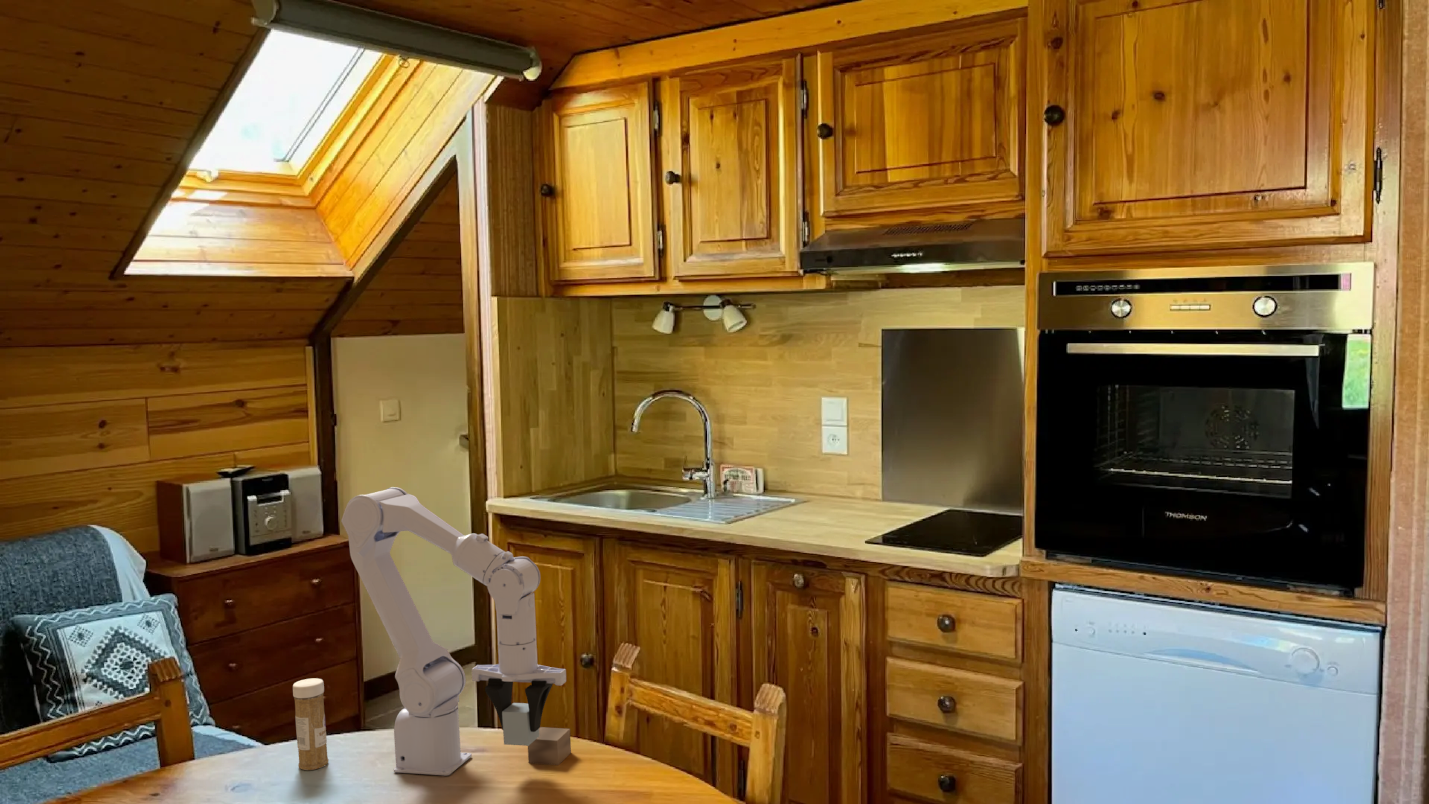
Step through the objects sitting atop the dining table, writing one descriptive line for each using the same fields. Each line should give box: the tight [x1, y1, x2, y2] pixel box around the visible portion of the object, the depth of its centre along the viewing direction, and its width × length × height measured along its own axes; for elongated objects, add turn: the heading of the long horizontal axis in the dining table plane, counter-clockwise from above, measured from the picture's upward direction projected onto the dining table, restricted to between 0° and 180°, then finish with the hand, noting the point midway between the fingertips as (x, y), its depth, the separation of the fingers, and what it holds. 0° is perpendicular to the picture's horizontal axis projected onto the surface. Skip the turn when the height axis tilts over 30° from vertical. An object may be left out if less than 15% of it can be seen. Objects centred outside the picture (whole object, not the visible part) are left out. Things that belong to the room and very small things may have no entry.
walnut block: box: [527, 726, 572, 766], centre depth 170 cm, size 5×5×4 cm
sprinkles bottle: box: [292, 677, 329, 771], centre depth 171 cm, size 5×5×14 cm
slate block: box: [502, 702, 539, 747], centre depth 164 cm, size 4×4×5 cm
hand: (521, 728), depth 164 cm, fingers closed on slate block, 4 cm apart
